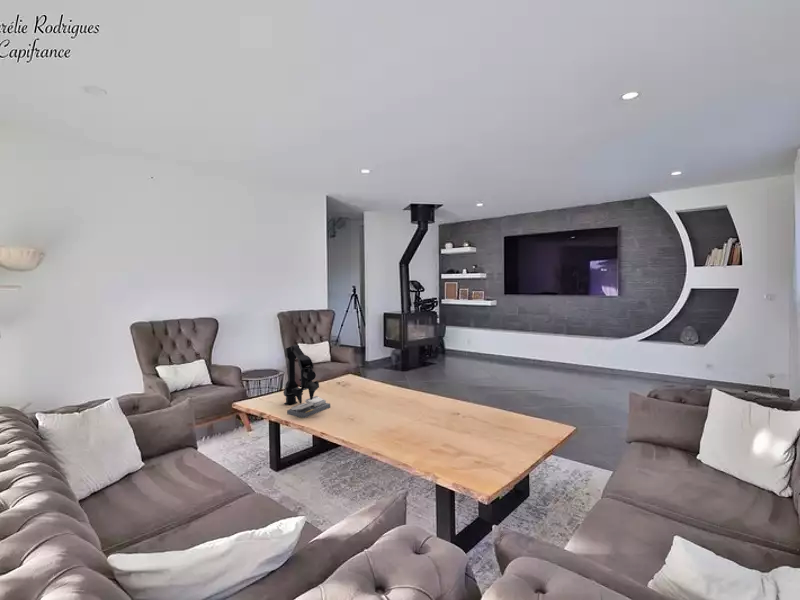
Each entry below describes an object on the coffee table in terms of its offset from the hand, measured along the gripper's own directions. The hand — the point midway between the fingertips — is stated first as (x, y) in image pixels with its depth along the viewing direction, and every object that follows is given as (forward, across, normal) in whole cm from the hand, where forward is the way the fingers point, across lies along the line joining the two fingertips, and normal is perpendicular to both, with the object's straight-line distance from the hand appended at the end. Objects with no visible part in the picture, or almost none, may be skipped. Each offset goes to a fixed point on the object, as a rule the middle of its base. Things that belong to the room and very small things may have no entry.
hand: (306, 401), depth 257 cm
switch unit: (+8, +6, +4) cm, 11 cm away
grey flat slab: (+4, 0, +4) cm, 5 cm away
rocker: (+4, +12, +4) cm, 13 cm away
